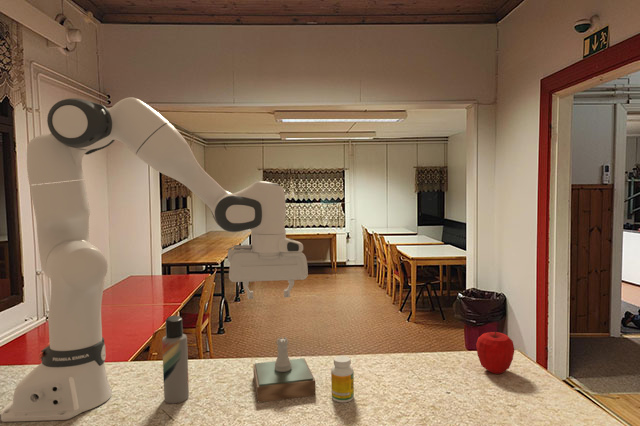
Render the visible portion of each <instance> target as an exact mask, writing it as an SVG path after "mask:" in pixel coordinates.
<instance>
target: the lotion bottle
mask: <svg viewBox="0 0 640 426" xmlns="http://www.w3.org/2000/svg"><path fill="white" fill-rule="evenodd" d="M161 344H162V345H161V348H162V375H163V376H162V377H163V396H164V397H163V398H164V401H165V402H166V403H167V404H172V405H173V404H179V403H182V402H185V401H186V400H187V399H188V398H189V395H190V390H189V389H190V386H189V384H190V383H189V382H190V381H189V360H188V359H189V357H188V356H189V355H188V353H189V352H188V336H187V335H186V333H184V328H183V317H182V316H180V315H170V316H168V317H167V318H165V336H163V337H162V339H161Z"/></svg>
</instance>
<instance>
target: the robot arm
mask: <svg viewBox="0 0 640 426" xmlns="http://www.w3.org/2000/svg"><path fill="white" fill-rule="evenodd" d="M46 121H47V127H48V130H49V132H50V133H46V134H45V133H44V134H40V135H38V136H35V137H34V138H32V139H30V140H29V142H28V143H27V146H26V147H27V148H26V170H27V178H28V180H27V181H28V184H29V189H30V194H31V199H32V201H31V202H32V206H33V211H34V214H35V215H34V216H35V222H36V234H37V246H38V253H39V261H40V267H41V269H42V271H43V273H44V275H45V276H46V277H47V278H49V279H50V300H49V310H48V314H47V316H48V317H47V318H48V321H47V323H48V338H49V339H48V340H49V341H48V343H47V344H45V346H44V348H43V349H42V350H40V353H39V354H38V355H37V356H38V360H39V361H40V360H41V363H39V364H38V365H37V366H36V367H35V368H34V369H32V370H31V371H29V373H28V374H26V375H25V376H24V377H23V378H22V379H21V380H20V381H19V382H18V384H17V385H16V387H15V389H14V392H13V396H12V400H10V401H9V402H7V403H6V405H5V406H4V408H3V409H2V411H1V414H0V420H1V422H37V421H41V422H42V421H65V420H70V419H72V418H75V417H76V416H78V415H79V414H81V413H83V412H87V411H89V410H92V409H94V408H96V407H98V406H101V405H102V404H104V403H106V402H107V401H108V400H109V399H110V398H111V397H112V395H113V390H112V388H111V385H110V383H109V379H108V375H107V371H106V370H107V369H106V365H105V364H106V363H105V361H106V344H105V338H104V337H103V326H102V324H103V323H102V303H103V302H102V301H103V296H104V295H103V293H104V286H105V280H106V279H105V277H107V273H108V269H109V268H108V267H109V266H108V261H107V258H106V256H105V255H104V253H103V251H102V250H101V249H100V248H99V247H97V246H95V245H94V244H92V243H91V242H90V230H89V229H90V223H89V222H90V214H91V209H90V204H89V199H88V193H87V188H86V183H85V181H86V180H85V176H84V171H83V165H82V163H83V157H84V156H85V155H91V154H93V153H95V152H97V151H100V150H103V149H106V148H108V147H109V146H110V145H112V144H113V143H114V142H115V141H118V142H120V143H122V144H123V145H124V146H125V147H127V148H128V149H129V150H130V151H131V152H132V153H134V155H136V156H137V157H138V158H139V159H140V161H142V162H144V163H145V164H146V165H147V166H149V167H151V168H152V169H154V170H155V171H157V172H159V174H160V173H161V174H162V175H164V176H167V177H169V178H171V179H173V180H174V181H175V180H176V181H177V182H179V183H181V184H182V185H184V186H185V187H186V188H187V189H189V190H190V192H191V193H193V194H194V195H195V196H196V197H198V199H199V200H201V201H202V202H203V204H205V205H206V206H207V207H208V209H209V210H210V212H211V214H212V218H213V219H214V221H215V223H216V224H217V225H218V227H220V228H221V229H222V230H223V231H225V232H228V233H234V234H235V233H241V232H244V231H248V230H250V231H251V236H250V237H251V239H250V240H251V244H242V245H241V244H233V246H232V247H229V249H228V250H227V260H228V262H229V268H228V278H229V281H230V282H232V283H241V282H242V286H243V288H244V290H245V291H246V294H247V295H246V297H247V299H248V300H250V299H254V290H250V289H249V286H250V285H249V283H250V282H271V281H272V282H273V281H287V283H288V286H287V288H286V289H285V288H284V289H283V298H290V297H291V291H292V289H293V287H294V286H295V281H297V280H298V281H299V280H306V279H307V278H308V276H309V272H308V271H309V270H308V269H309V267H308V260H307V257H306V255H305V253H303V251H304V245H303V243H302V242H300V241H298V240H294V239H293V238H287V237H286V236H287V233H286V232H287V231H286V228H285V220H286V217H287V215H286V214H287V213H286V211H287V210H286V209H287V208H286V207H287V206H286V205H287V204H286V194H285V190H284V188H283V187H282V186H281V185H280V184H278V183H274V182H271V181H263V180H257V181H254V183H252V184H250V185H249V186H247V187H245V188H243V189H241V190H239V191H237V192H233V193H232V192H229V191H228V190H226V189H225V188H223V187H222V186H221V185H220V184H219V183H218V182H217V181H216V180H215V179H214V178H213V177H212V176H210V175H209V174H208V173H207V172H206V170H205V169H204V168H202V166H201V165H200V163H199V162H198V161H197V159H196V157H195V154H194V153H193V151H192V149H191V146H190V145H189V143H188V142H187V140H186V139H185V137H183V135H182V134H181V133H180V131H179V130H178V129H176V127H175V126H174V125H173V124H172V123H171V122H170V121H168V120H167V119H166V118H165V117H164V116H163V115H162V114H161V113H159V112H158V111H157V110H155V109H154V107H153V108H152V106H150V105H149V104H147V103H146V102H144V101H142V100H141V99H139V98H136V97H132V96H131V97H125V98H123V99H120V100H119V101H117V102H116V103H114V105H113V106H112V107H109V108H107V107H106V106H105V105H103V104H102V103H97V102H93V101H90V100H86V99H84V98H77V97H76V98H74V97H73V98H72V97H71V98H65V99H61V100H60V101H57V102H56V103H55V104H53V105H52V107H51V108H50V109H49V111H48V114H47V119H46Z"/></svg>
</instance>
